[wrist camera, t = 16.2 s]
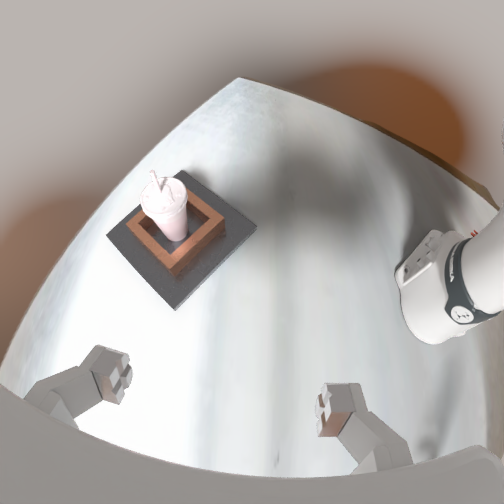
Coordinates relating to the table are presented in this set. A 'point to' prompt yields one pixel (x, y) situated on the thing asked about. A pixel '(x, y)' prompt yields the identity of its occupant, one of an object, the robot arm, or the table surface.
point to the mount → (182, 243)
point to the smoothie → (166, 205)
